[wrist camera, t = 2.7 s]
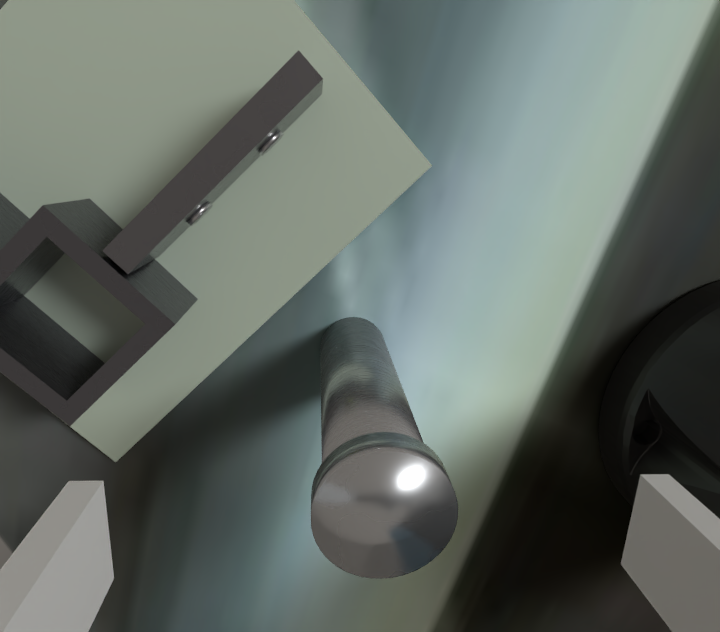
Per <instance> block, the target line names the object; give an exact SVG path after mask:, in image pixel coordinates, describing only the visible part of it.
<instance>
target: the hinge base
mask: <svg viewBox="0 0 720 632" xmlns="http://www.w3.org/2000/svg"><path fill="white" fill-rule="evenodd" d="M122 230H123V229H122V228H121V227H120V226H119V225H118V224H117V223H116V222H114V221H113V220H112V219H111V218H110V217H109V216H108V215H107V214H106V213H105V212H104V211H103V210H102V209H101V208H99V207H98V206H97V205H96V204H95V203H94V202H93V201H92V200H91V199H83V200H76V201H68V202H61V203H54V204H47V205H42V206H41V208H40V209H39V210H38V211H37V212H36V213H35V214H34V215H33V216H32V217H31V218H30V219H29V218H28V217H27V216H26V215H25V214H24V213H23V212H22V211H20V210H19V209H18V208H17V207H16V206H15V205H14V204H12V203H11V202H10V201H9V200H8V199H7V198H6V197H5V196H3V195H2V194H1V193H0V372H1V373H2V374H4V375H5V376H6V377H7V378H9V379H10V380H11V381H12V382H14V383H15V384H16V385H18V386H19V387H20V388H21V389H23V390H24V391H25V392H27V393H28V394H29V395H30V396H32V397H33V398H34V399H35V400H37V401H38V402H39V403H41V404H42V405H43V406H44V407H46V408H47V409H48V410H50V411H51V412H52V413H53V414H55V415H56V416H57V417H59V418H60V419H61V420H62V421H64V422H65V423H66V424H67V425H69V426H71V425H72V424H73V423H74V422H75V421H76V420H77V419H78V418H79V417H80V416H81V415H82V414H83V413H84V412H85V411H86V410H88V409H89V408H90V407H91V406H92V405H93V404H94V403H95V402H96V401H97V400H98V399H99V398H100V397H101V396H102V395H103V394H104V393H105V392H106V391H107V390H108V389H109V388H110V387H111V386H112V385H113V384H114V383H115V382H116V381H117V380H119V379H120V378H121V377H122V376H123V375H124V374H125V373H126V372H127V371H128V370H129V369H130V368H131V367H132V366H133V365H134V364H135V363H136V362H137V361H138V360H139V359H140V358H141V357H142V356H143V355H144V354H145V353H146V352H147V351H148V350H150V349H151V348H152V347H153V346H154V345H155V344H156V343H157V342H158V341H159V340H160V339H161V338H162V337H163V336H164V335H165V334H166V333H167V332H168V331H169V330H170V329H171V328H172V327H173V326H174V325H175V324H176V323H177V322H178V321H179V320H180V319H181V318H182V317H183V315H184V314H185V313H186V312H187V311H188V310H189V309H190V308H191V307H192V305H193V304H194V303H195V302H196V301H197V300H198V299H197V298H196V297H195V296H194V295H193V294H192V293H191V292H190V291H189V290H188V289H187V288H186V287H184V286H183V285H182V284H181V283H180V282H179V281H178V280H177V279H176V278H175V277H174V276H173V275H172V274H170V273H169V272H168V271H167V270H166V269H165V268H164V267H163V266H162V265H161V264H160V263H159V262H158V261H156V260H155V259H154V260H152V261H151V262H149V263H147V264H145V265H143V266H142V267H140V268H138V269H136V270H135V271H133V272H131V273H129V274H127V273H126V272H125V271H124V270H123V269H122V268H121V267H119V266H118V265H117V264H116V263H115V262H114V261H113V260H112V259H111V258H110V257H108V256H107V255H106V254H105V253H104V252H103V250H104V248H105V247H106V246H107V245H108V244H109V243H110V242H111V241H112V240H113V239H114V238H115V237H116V236H117V235H118V234H119V233H120V232H121V231H122ZM65 253H66V254H67V255H68V256H69V257H70V258H71V259H72V260H74V261H75V262H76V263H77V264H78V265H79V266H80V267H81V268H83V269H84V270H85V271H86V272H87V273H88V274H89V275H91V276H92V277H93V278H94V279H95V280H96V281H97V282H98V283H100V284H101V285H102V286H103V287H104V288H105V289H106V290H108V291H109V292H110V293H111V294H112V295H113V296H114V297H115V298H117V299H118V300H119V301H120V302H121V303H122V304H123V305H125V306H126V307H127V308H128V309H129V310H130V311H131V312H132V313H134V314H135V315H136V316H137V317H138V318H139V319H140V320H141V321H143V322H144V323H145V325H144V326H143V327H142V328H141V329H140V330H139V331H138V332H137V333H136V334H135V335H134V336H133V337H131V338H130V339H129V340H128V341H127V342H126V343H125V344H124V345H123V346H122V347H121V348H120V349H119V350H118V351H117V352H116V353H115V354H114V355H113V356H112V357H111V358H110V359H109V360H108V361H107V362H106V363H104V362H103V361H102V360H100V359H99V358H98V357H97V356H96V355H94V354H93V353H92V352H91V351H90V350H89V349H87V348H86V347H85V346H84V345H83V344H81V343H80V342H79V341H78V340H77V339H75V338H74V337H73V336H72V335H71V334H69V333H68V332H67V331H66V330H65V329H63V328H62V327H61V326H60V325H59V324H57V323H56V322H55V321H54V320H53V319H51V318H50V317H49V316H48V315H47V314H46V313H44V312H43V311H42V310H41V309H40V308H38V307H37V306H36V305H35V304H34V303H32V302H31V301H30V300H29V299H28V298H26V297H25V296H24V295H25V294H26V293H27V292H28V291H29V290H30V289H31V288H32V287H33V286H34V285H35V284H36V283H37V282H38V281H39V280H40V279H41V278H42V277H43V276H44V275H45V274H46V272H47V271H48V270H49V269H50V268H51V267H52V266H53V265H54V264H55V263H56V262H57V261H58V260H59V259H60V258H61V257H62V256H63V255H64V254H65Z"/></svg>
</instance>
